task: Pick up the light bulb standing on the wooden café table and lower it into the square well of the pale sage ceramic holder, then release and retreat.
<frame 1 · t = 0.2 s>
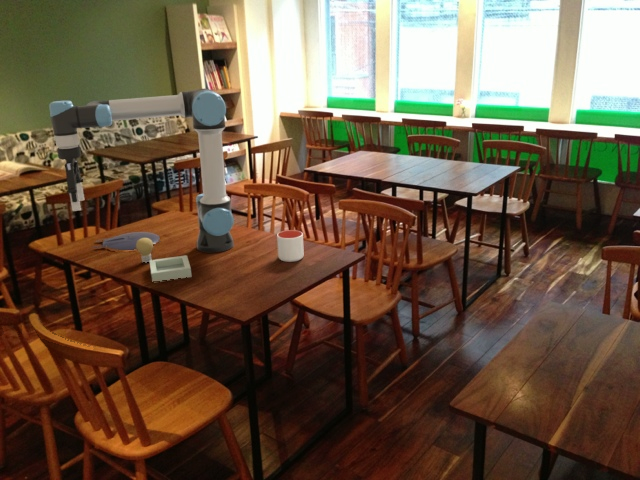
hand: (78, 205, 210), 27 cm above the table, fingers open, 13 cm apart
light bulb: (147, 262, 231), on the table
holder: (170, 272, 220), on the table
cup: (291, 258, 230), on the table
toy spaceship: (128, 244, 253), on the table
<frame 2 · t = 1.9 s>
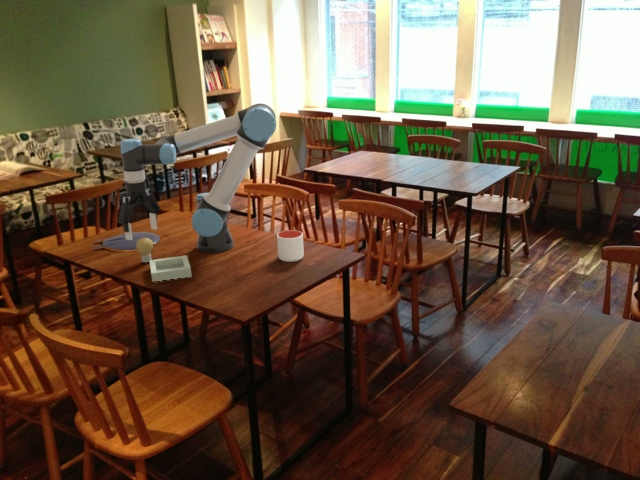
hand: (142, 234, 227), 12 cm above the table, fingers open, 13 cm apart
nothing on the table moved.
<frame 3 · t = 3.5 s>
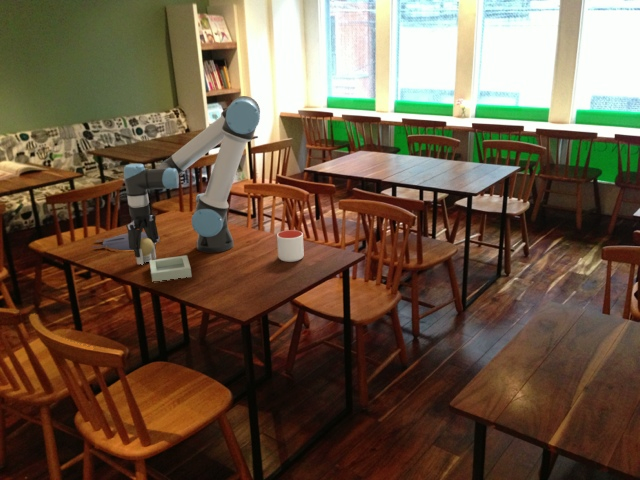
hand: (146, 261, 231), 0 cm above the table, fingers closed on light bulb, 6 cm apart
light bulb: (147, 262, 231), on the table, touching gripper
everything else where it was.
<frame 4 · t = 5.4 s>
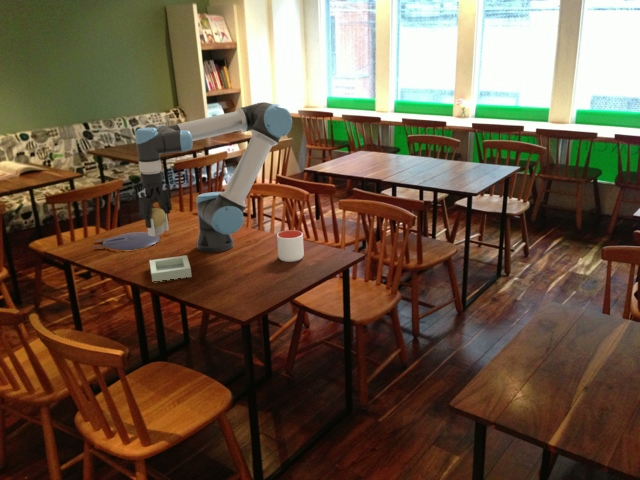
hand: (158, 232, 217), 15 cm above the table, fingers closed on light bulb, 6 cm apart
light bulb: (158, 234, 218), point 14 cm above the table, touching gripper
everything else where it was.
when the fingers open (3 cm above the table, at t = 7.6 s): light bulb drops 2 cm, resting on holder.
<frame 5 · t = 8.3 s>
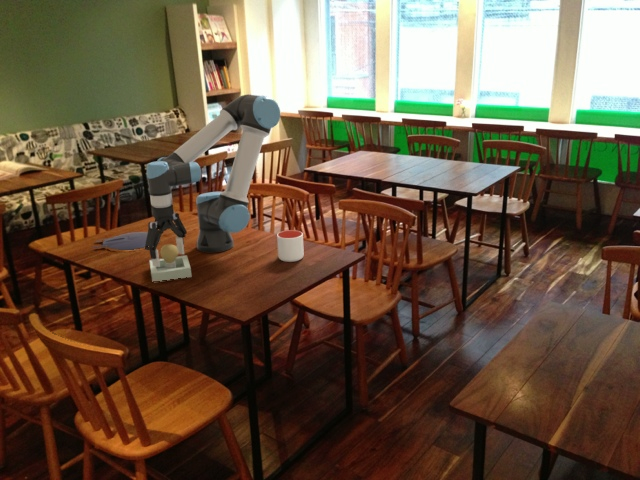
hand: (169, 259, 218), 5 cm above the table, fingers open, 13 cm apart
light bulb: (171, 270, 220), point 1 cm above the table, touching holder
everything else where it was.
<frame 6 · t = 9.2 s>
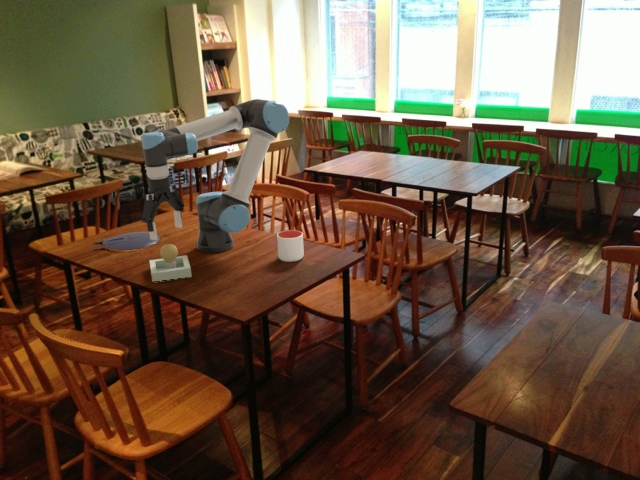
hand: (166, 233, 215), 16 cm above the table, fingers open, 13 cm apart
nothing on the table moved.
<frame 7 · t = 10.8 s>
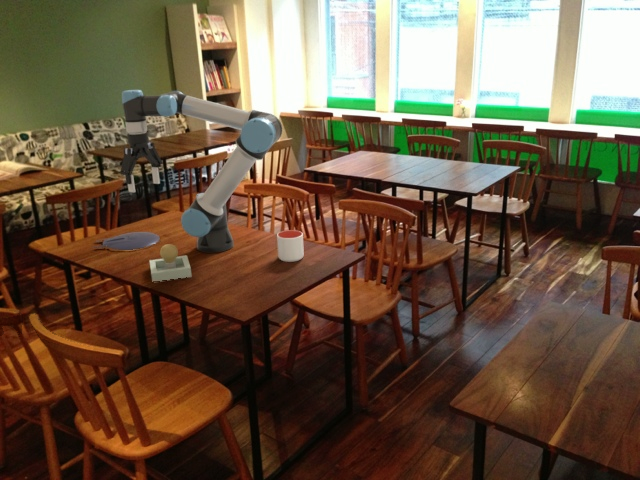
hand: (144, 187, 226), 29 cm above the table, fingers open, 13 cm apart
nothing on the table moved.
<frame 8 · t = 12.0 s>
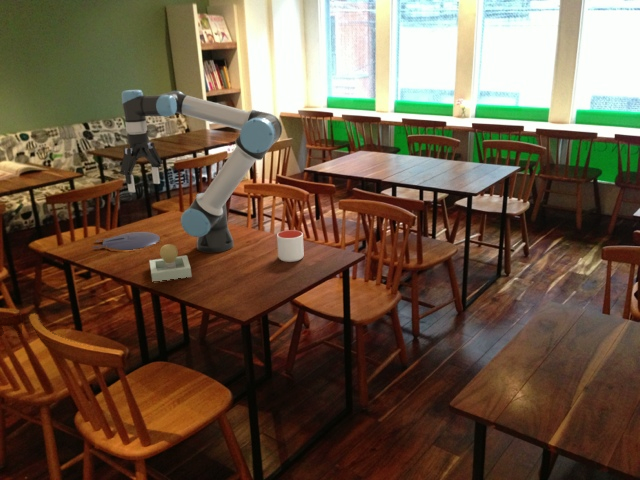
hand: (144, 187, 227), 29 cm above the table, fingers open, 13 cm apart
nothing on the table moved.
at the end: light bulb inside the target area on the holder (0.4 cm from its centre), point 0.9 cm above the holder's base; light bulb touching holder; the gripper is holding nothing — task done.
